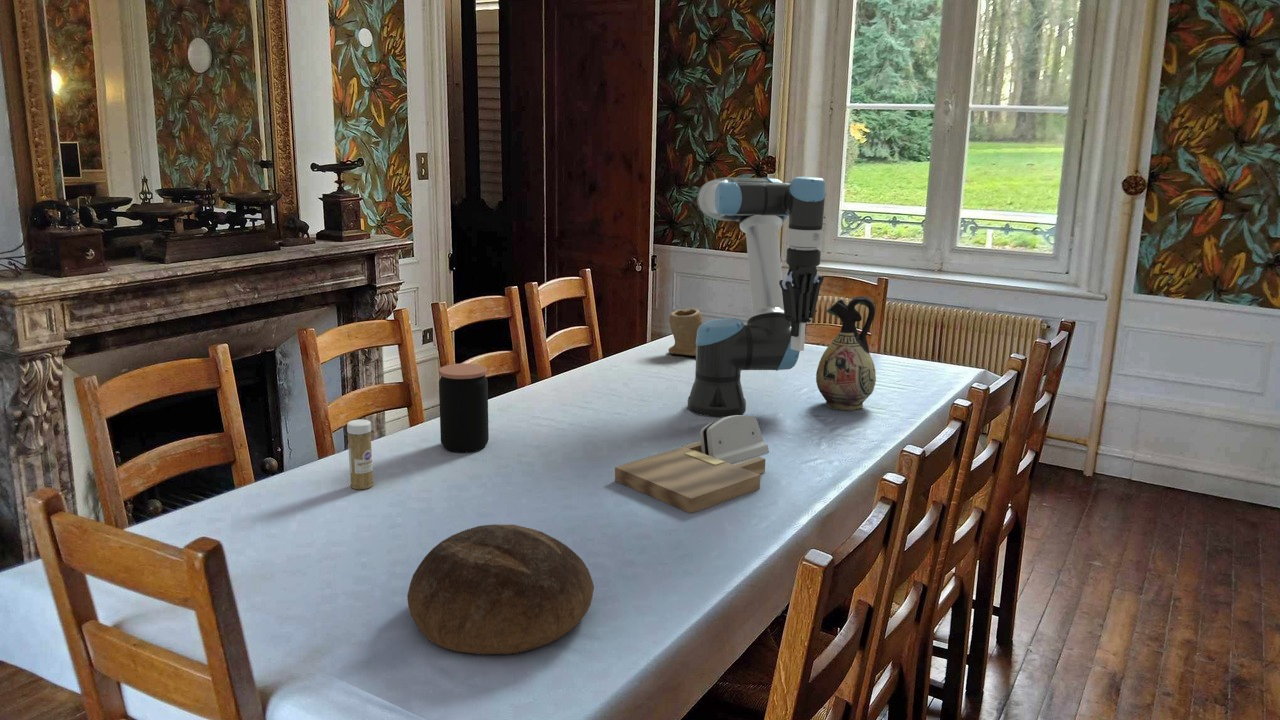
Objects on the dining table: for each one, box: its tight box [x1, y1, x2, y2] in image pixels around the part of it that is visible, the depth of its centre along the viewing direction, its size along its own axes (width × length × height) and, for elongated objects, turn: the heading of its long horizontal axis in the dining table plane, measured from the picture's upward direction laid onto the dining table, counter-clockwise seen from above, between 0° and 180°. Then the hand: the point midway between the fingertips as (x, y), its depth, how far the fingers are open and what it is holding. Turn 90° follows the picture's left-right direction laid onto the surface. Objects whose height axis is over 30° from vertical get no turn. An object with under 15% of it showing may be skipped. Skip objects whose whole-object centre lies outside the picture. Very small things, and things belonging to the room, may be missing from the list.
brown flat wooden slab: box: [614, 440, 766, 514], centre depth 198 cm, size 22×28×3 cm
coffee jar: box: [438, 362, 490, 454], centre depth 214 cm, size 11×11×18 cm
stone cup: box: [668, 308, 703, 357], centre depth 303 cm, size 15×12×15 cm
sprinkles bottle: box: [346, 419, 375, 490], centre depth 189 cm, size 5×5×13 cm
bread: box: [407, 524, 595, 655], centre depth 141 cm, size 26×27×13 cm
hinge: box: [699, 414, 770, 464], centre depth 212 cm, size 17×5×10 cm, turn 130°
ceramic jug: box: [815, 296, 877, 411], centre depth 249 cm, size 17×15×30 cm
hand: (797, 349), depth 219 cm, fingers closed
